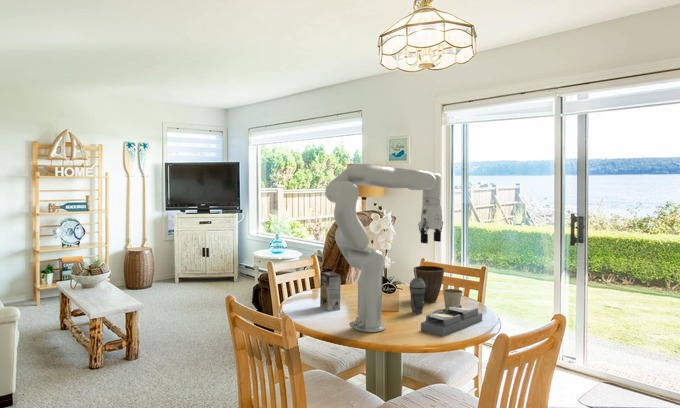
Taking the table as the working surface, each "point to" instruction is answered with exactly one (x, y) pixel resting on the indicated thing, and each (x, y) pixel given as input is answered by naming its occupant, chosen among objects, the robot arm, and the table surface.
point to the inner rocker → (440, 316)
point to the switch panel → (451, 321)
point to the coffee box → (330, 291)
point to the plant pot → (430, 281)
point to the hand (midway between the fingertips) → (430, 242)
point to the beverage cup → (417, 294)
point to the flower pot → (452, 297)
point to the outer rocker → (458, 309)
